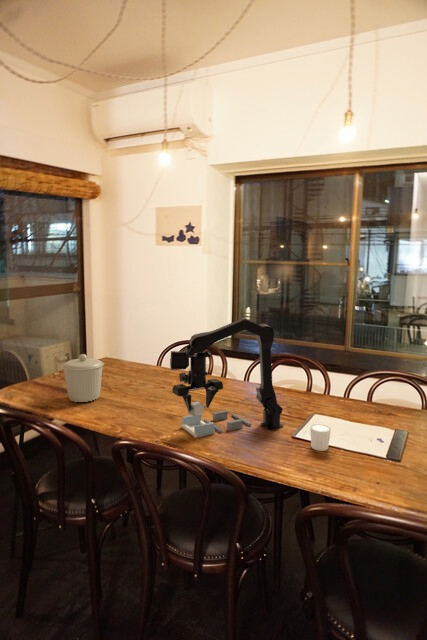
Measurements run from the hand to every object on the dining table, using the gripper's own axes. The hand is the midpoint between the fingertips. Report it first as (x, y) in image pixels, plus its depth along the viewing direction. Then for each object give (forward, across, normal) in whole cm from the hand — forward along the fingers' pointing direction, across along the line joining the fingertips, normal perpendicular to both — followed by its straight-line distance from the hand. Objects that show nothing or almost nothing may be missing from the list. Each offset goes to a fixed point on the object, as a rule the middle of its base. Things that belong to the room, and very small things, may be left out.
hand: (198, 409), depth 158 cm
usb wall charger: (+2, 0, 0) cm, 2 cm away
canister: (+8, +29, -56) cm, 64 cm away
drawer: (+8, 0, 0) cm, 8 cm away
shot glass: (+9, -30, +33) cm, 45 cm away
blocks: (+8, -13, 0) cm, 15 cm away
